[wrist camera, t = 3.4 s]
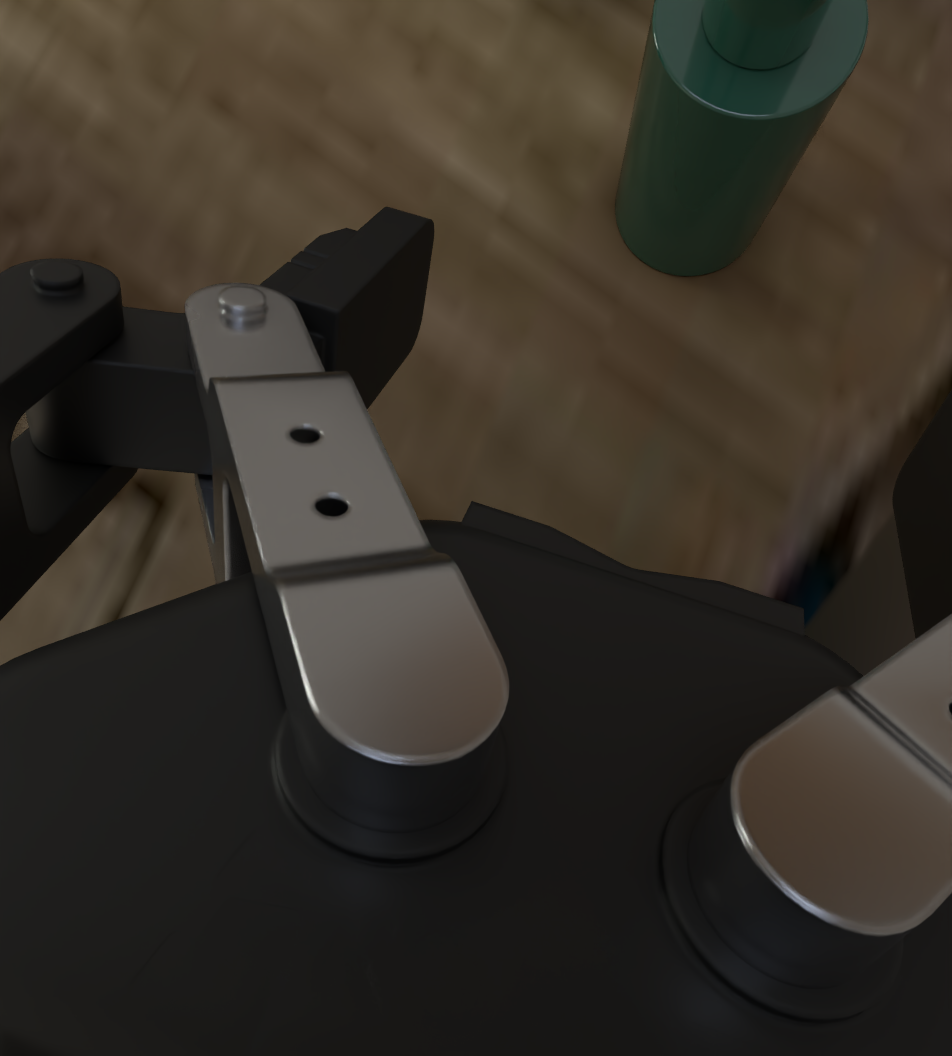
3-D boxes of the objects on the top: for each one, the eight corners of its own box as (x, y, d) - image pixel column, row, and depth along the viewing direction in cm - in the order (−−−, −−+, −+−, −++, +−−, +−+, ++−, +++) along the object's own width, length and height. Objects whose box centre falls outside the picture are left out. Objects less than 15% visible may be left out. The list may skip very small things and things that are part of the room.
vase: (596, 254, 28) (638, 8, 16) (639, 122, 28) (711, -209, 17) (737, 294, 27) (881, 70, 16) (779, 160, 28) (950, -154, 16)
